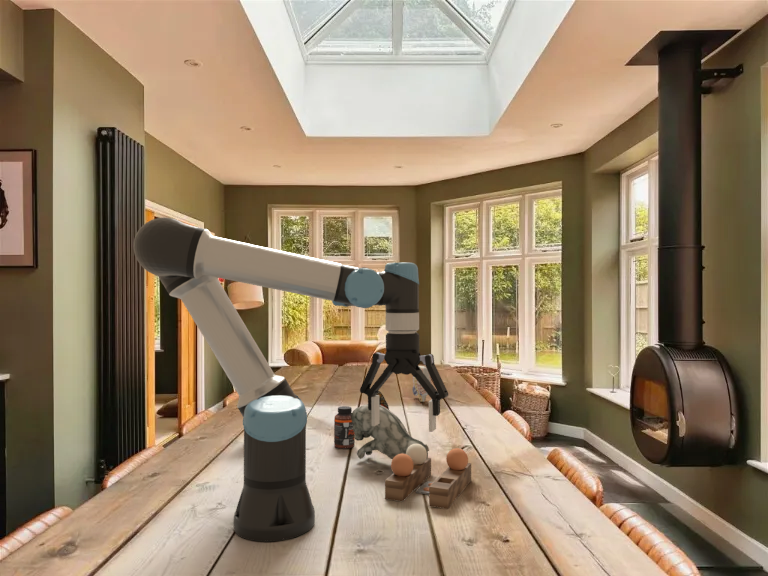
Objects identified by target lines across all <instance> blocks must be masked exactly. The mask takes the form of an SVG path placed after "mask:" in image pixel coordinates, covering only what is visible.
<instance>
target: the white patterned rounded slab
mask: <svg viewBox="0 0 768 576" xmlns="http://www.w3.org/2000/svg"><path fill="white" fill-rule="evenodd" d="M418 366H419V367H420V368H421V370H422V371H423V374H424V375H425V376H426V377H427V379H428V380H429V381H430V383H431V384H432V379H431V377H430V374H429V372H428V370H427V368H426V366H425V365H418ZM412 382H413V386H412V393H413V395H414V397H415V396H416V397H418V400H419V402H420V403H425V401H426V399H427V396H429V395H428V394H427V392H426V391H425V390H424V388H423V387H422V386H421V384H420V383H419V382H418V381H417V379H416V378H415V377H414V376H413V375H412Z"/></svg>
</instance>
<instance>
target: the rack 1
mask: <svg viewBox="0 0 768 576" xmlns="http://www.w3.org/2000/svg"><path fill="white" fill-rule="evenodd" d="M430 476H432V458H431V457H428V458H426V460H425V462H424V463H423V464H421V465H414V467H413V470H412V472H411V474H410V475H408V476H406V477H400V476H397V475H395V474H394V473H392V474H390V476H388V477H387V478H386V479H384V499H385V500H390V501H397V502H400V503H402V502H403V501H405V500H406V499H408V498H409V496H411V494H412V493H413V492H414V491H416V490H417V489H418V488H419V487H420V486H422V485H423V484H424V483H425V482H426V481H427V479H428V478H430Z"/></svg>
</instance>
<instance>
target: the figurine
mask: <svg viewBox="0 0 768 576" xmlns="http://www.w3.org/2000/svg"><path fill="white" fill-rule="evenodd" d="M351 413H352V414H351V420H352V423H353V431H354V433H355V440H356V441H358V442H359V441H363V440H364V438H365V439H368V438H370V437H372V438H373V439H372V440H370V441H368V442H366V443H365V444H363V445H362V446H361V447H360V448H359V449H358V450H357V452H356V455H357V458H358V459H360V460H361V459H364V458H365V455H367V456H371V455H372V454H373V451H378V452H380V453H381V454H383V455H385V456H387V457H388V458H389V459H391V460H393V458H394V457H395V456H396V455H398V454H406V451H407V448H408V447H409V446H410V445H412V444H421V445H422V446H423V447H424V448H425V449H426V452H427V458H429V451H430V449H429V445H428V444H425V443H424V442H423V441H421V440H419V439H416V438H413V437H412V436H411V435H410V433H409V432H408V431H407V428H406V427H405V425H404V423H403V422H402V421H401V419H400V418H399V417H398V416H397V415H396V414H395V413H394V412H393V411H391V410H390V409H389V410H388V409H387V408H385V407H383V406H381V405H379V415H380V424H378V425H376V426H372V410H369V409H368V403H367V404H363V405H360V406H359V407H357V408H355V409H354V410H353V411H352V412H351Z"/></svg>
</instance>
